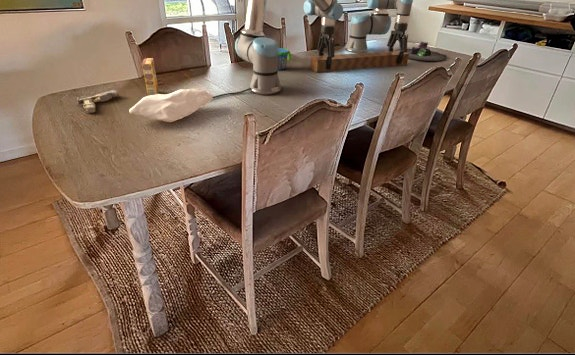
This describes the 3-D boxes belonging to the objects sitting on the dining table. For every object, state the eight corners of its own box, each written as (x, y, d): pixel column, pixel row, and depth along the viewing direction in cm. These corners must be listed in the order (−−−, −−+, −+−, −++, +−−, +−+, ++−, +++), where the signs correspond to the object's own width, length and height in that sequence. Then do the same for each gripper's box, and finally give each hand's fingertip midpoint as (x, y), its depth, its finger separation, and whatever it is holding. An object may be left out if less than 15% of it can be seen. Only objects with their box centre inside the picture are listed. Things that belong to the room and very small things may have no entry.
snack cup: (285, 64, 217) (285, 46, 212) (295, 68, 210) (296, 50, 204) (262, 67, 210) (262, 49, 204) (272, 72, 202) (272, 53, 197)
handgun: (128, 97, 156) (111, 87, 164) (86, 107, 144) (70, 97, 152) (129, 103, 157) (113, 94, 165) (88, 114, 146) (72, 103, 154)
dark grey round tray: (457, 57, 245) (460, 43, 240) (424, 63, 227) (427, 48, 223) (415, 49, 269) (417, 36, 265) (382, 54, 252) (384, 40, 247)
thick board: (316, 72, 206) (317, 60, 202) (310, 68, 213) (311, 56, 209) (406, 65, 226) (409, 53, 223) (398, 61, 233) (400, 50, 229)
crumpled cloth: (117, 110, 146) (113, 90, 140) (195, 92, 166) (194, 73, 160) (143, 139, 134) (140, 118, 128) (223, 116, 154) (224, 96, 148)
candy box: (157, 97, 164) (152, 63, 155) (147, 98, 163) (141, 63, 155) (158, 91, 171) (153, 57, 163) (149, 91, 170) (143, 58, 162)
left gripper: (343, 29, 191) (339, 71, 203) (325, 21, 208) (321, 61, 220) (331, 29, 189) (327, 72, 201) (313, 22, 206) (310, 61, 218)
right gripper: (418, 26, 207) (410, 65, 219) (395, 19, 224) (388, 56, 236) (408, 26, 205) (400, 66, 217) (385, 19, 222) (379, 56, 234)
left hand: (324, 66), depth 211 cm, fingers open, 10 cm apart
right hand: (394, 61), depth 226 cm, fingers open, 10 cm apart
